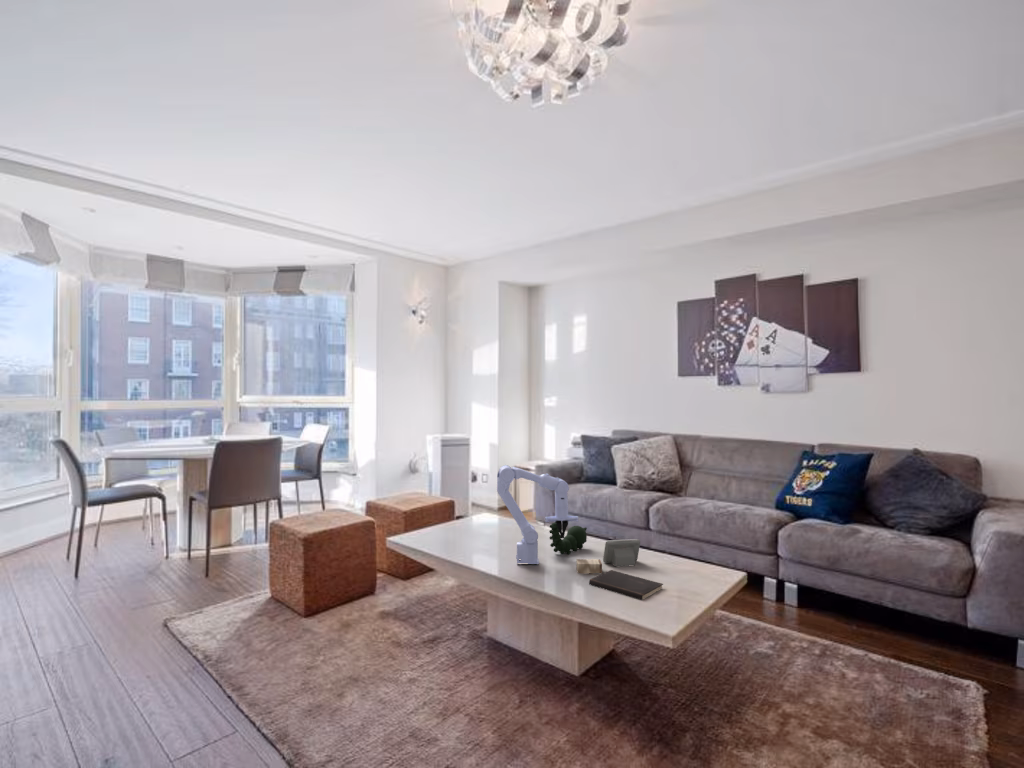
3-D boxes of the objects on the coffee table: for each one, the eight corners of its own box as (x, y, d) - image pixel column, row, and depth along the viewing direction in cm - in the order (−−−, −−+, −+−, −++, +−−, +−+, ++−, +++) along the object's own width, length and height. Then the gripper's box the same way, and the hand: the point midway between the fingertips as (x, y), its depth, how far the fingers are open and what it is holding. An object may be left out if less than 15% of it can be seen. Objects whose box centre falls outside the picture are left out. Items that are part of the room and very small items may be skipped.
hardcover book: (611, 575, 213) (611, 569, 213) (663, 589, 197) (663, 583, 197) (588, 585, 201) (588, 579, 201) (642, 601, 186) (642, 595, 186)
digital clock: (638, 560, 231) (637, 536, 231) (642, 567, 222) (642, 542, 222) (601, 560, 231) (601, 536, 231) (604, 566, 222) (604, 542, 222)
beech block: (577, 563, 214) (602, 564, 214) (576, 559, 220) (600, 559, 220) (577, 573, 214) (602, 573, 213) (576, 568, 220) (600, 569, 219)
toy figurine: (561, 562, 233) (595, 546, 250) (559, 521, 232) (593, 507, 249) (546, 558, 239) (579, 542, 257) (543, 517, 239) (577, 504, 256)
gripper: (545, 509, 226) (546, 540, 226) (578, 508, 225) (579, 540, 225) (545, 505, 233) (545, 536, 233) (577, 505, 232) (578, 535, 232)
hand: (562, 537), depth 229 cm, fingers closed
